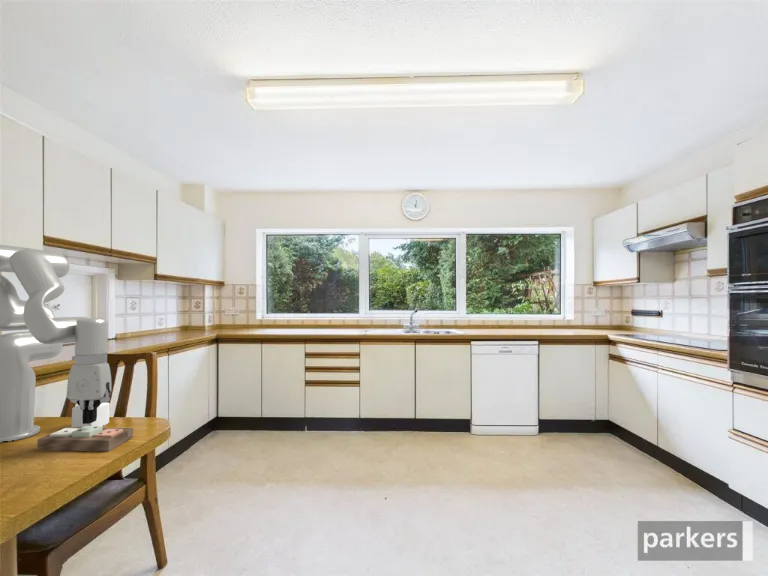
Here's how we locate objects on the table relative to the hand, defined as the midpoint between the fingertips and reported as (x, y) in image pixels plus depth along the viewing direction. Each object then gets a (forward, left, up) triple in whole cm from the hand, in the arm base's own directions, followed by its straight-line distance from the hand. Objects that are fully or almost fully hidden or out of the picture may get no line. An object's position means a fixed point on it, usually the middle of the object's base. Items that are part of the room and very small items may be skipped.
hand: (89, 422), depth 108 cm
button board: (-1, 0, -6) cm, 6 cm away
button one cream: (-7, 0, -5) cm, 9 cm away
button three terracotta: (+6, 0, -5) cm, 8 cm away
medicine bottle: (-11, +14, -7) cm, 19 cm away
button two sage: (-1, 0, -4) cm, 4 cm away
